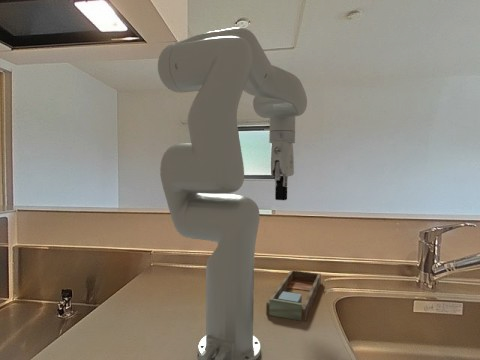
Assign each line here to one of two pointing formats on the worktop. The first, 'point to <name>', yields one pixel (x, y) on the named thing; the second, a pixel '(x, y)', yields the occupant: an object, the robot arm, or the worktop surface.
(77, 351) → the worktop surface
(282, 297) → the block
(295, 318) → the open box
